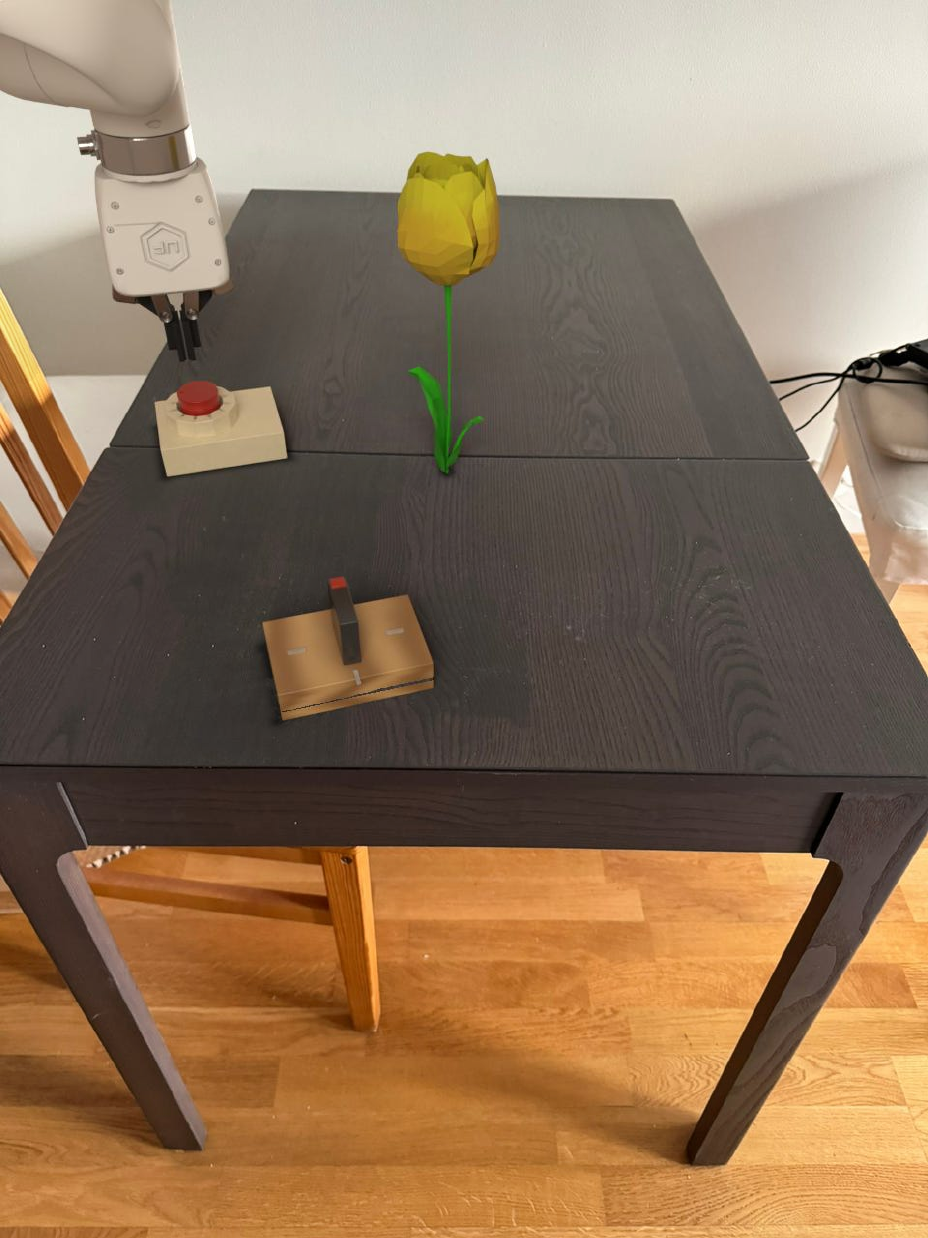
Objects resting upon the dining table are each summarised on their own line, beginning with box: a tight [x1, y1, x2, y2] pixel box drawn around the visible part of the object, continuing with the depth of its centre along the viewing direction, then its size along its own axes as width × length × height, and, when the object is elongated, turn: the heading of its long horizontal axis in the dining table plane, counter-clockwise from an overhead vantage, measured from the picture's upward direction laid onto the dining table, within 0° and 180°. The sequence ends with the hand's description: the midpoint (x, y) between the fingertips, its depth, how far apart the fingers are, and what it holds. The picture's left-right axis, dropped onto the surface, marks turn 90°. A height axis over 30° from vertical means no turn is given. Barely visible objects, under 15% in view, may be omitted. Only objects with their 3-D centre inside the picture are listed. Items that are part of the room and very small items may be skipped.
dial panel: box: [261, 594, 435, 721], centre depth 74 cm, size 12×9×3 cm
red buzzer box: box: [154, 385, 288, 477], centre depth 95 cm, size 12×9×5 cm
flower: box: [396, 151, 501, 474], centre depth 83 cm, size 9×8×30 cm
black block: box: [326, 576, 361, 665], centre depth 71 cm, size 5×1×5 cm, turn 16°
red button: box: [176, 380, 221, 416], centre depth 92 cm, size 4×4×2 cm
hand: (186, 354), depth 89 cm, fingers closed
